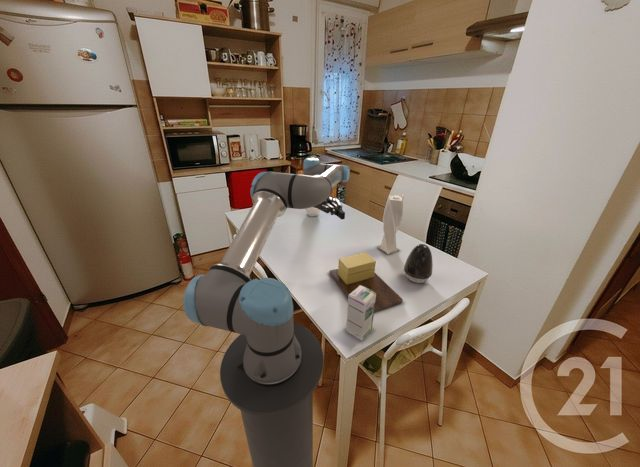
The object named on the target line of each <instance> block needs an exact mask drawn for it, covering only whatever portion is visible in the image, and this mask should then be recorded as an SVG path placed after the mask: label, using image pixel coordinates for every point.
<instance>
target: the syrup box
mask: <svg viewBox="0 0 640 467" xmlns="http://www.w3.org/2000/svg"><path fill="white" fill-rule="evenodd" d="M375 299H376V293H375V292H373V291H371V290H370V289H368V288H366V287H363V286H361V285H359V286H358V287H357V288H356V289H355V290H353V291H352V292H351V293H350V294H349V296H348V297H347V312H346V314H347V315H346V332H347V333H349V334H350V335H352V336H354V337H355V338H357V339H358V340H359V341H363V340H364V339H365V338H366V337H367V336H368V335H369V333H370V332H371V331H372V330H373V325H374V324H373V323H374V315H375V312H374V308H375Z"/></svg>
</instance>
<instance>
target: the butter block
mask: <svg viewBox="0 0 640 467" xmlns="http://www.w3.org/2000/svg"><path fill="white" fill-rule="evenodd" d="M337 269H338V275H339V276H340V277H341V278H342V280H343V281H344V282H345V283H346V284H351V283H354V282H358V281H361V280H365V279H368V278H372V277H374V272H375V271H376V267H375V268H372V269H369V270H365V271H361V272H357V273H354V274H350V275H347V274H346V273H345V272H344V271H343V270H342V269H341V267H340V266H339V265H338V267H337Z"/></svg>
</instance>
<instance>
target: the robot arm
mask: <svg viewBox="0 0 640 467" xmlns="http://www.w3.org/2000/svg"><path fill="white" fill-rule="evenodd" d="M302 167H303V168H302V172H303V174H298V173H288V172H277V171H271V170H270V171H261V172H259V173H257V174H256V175H255V176H254V178H253V179H252V182H251V187H250V198H251V202H252V204H253V205H252V206H251V208H250V210H249V212H248V213H247V215H246V217H245V219H244V220H243V223H242V224H241V225H240V227H239V229H238V231H237V232H236V234H235V235H234V238H233V240H232V241H231V242H230V245H229V247H228V249H227V250H226V251H225V253H224V255H223V258H221V260H220V262H218V263H215V264H212V265H211V266H210V267H209V270H208V271H207V272H206V274H198V275H197V276H194V277H193V278H192V279H191V280H190V281H189V282H188V284H187V287H186V288H185V291H184V295H183V311H184V314H185V316H186V317H187V319H188V320H190V321H191V322H193V323H196V324H198V325H201V326H203V327H209V328H210V327H211V328H214V329H218V330H223V331H226V332H230V333H234V334H239V335H241V334H242V335H245V336H246V338H247V345H246V348H245V352H244V356H243V362H242V363H241V364H239V365H237V368H240V367H241V366H244V370H245V373H246V375H247V377H248V378H249V379H250V380H251V381H252V382H254V383H256V384H258V385H261V386H276V385H280V384H282V383H284V382H286V381H288V380H289V379H291V378H292V377H293V376H294V375H295V374H296V372H297V371H298V369H299V367H300V365H301V360H302V352H301V347H300V344H299V342H298V340H297V338H296V337H295V335H294V324H293V322H294V303H293V296H292V294H291V290H289V288H288V286H287V285H286V284H285V283H283V282H282V281H280V280H278V279H275V278H271V277H260V279H258V278H254V279H251V275H252V272H253V270H254V267H255V265H256V263H257V261H258V259H259V257H260V255H261V253H262V250H263V249H264V246H265V245H266V242H267V240H268V238H269V236H270V234H271V232H272V229H273V228H274V226H275V224H276V221H277V219H278V218H279V217H282V216H284V214H285V213H286V211H287V209H294V210H305V209H307V208H311V207H314V208H317V209H319V210H320V212H321V211H322V212H323V213H325V214H329V213H330V216H333V215H334V216H337V217H338V218H339V219H340V220H345V218H346V212H345V211H344V209H343V204H342V203H341V201H340V198H339V197H335V198H333V197H331V195H332V192H333V189H335V187H337V185H338V184H339V183H347V182H348V181H349V180H350V175H351V174H350V173H351V170H350V166H349V165H344V164H332V163H331V164H329V163H320V159H319V158H317V157H306V158H305V159H304V160H303V166H302Z"/></svg>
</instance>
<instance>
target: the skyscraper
mask: <svg viewBox="0 0 640 467" xmlns="http://www.w3.org/2000/svg"><path fill="white" fill-rule="evenodd" d="M404 198H405V195H404V193H402V194H401V196H400V195H397V194H394V195H391V194H389V195H388V198H387V202H386V206H385V209H384V215H383V237H382V240H381V243H380V245H378V246H377V249H378V250H380V251H381V252H383V253H384V254H387V255H391V254H393V253H394V254H395V253H397V252H399V251H400V249H399V248H397V232H398V230H399V228H400V226H401V223H402V220H403V214H404Z"/></svg>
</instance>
